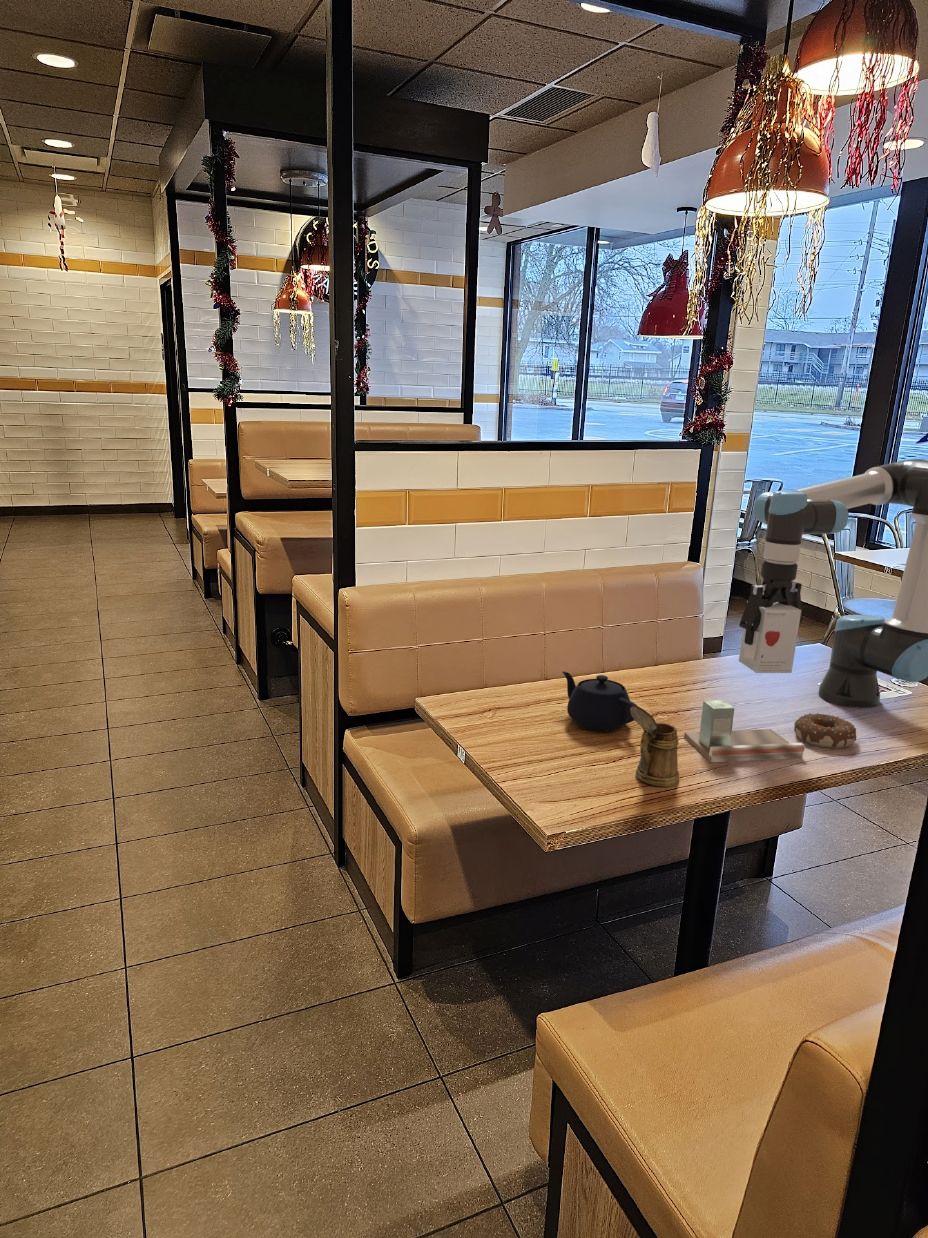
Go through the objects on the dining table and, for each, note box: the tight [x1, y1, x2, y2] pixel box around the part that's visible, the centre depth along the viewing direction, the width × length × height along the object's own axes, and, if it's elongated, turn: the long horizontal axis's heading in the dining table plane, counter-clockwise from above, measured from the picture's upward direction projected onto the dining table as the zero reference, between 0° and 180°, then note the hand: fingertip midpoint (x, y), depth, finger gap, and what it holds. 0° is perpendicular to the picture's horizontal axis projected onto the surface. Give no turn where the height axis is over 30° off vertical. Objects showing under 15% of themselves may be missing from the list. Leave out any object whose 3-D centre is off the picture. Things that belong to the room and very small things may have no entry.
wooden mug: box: [630, 705, 680, 788], centre depth 171 cm, size 9×14×18 cm, turn 128°
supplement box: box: [738, 600, 801, 674], centre depth 191 cm, size 9×9×15 cm
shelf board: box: [683, 728, 806, 763], centre depth 191 cm, size 22×14×3 cm, turn 100°
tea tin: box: [699, 699, 735, 751], centre depth 188 cm, size 5×5×10 cm
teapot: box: [562, 671, 638, 733], centre depth 202 cm, size 25×16×12 cm, turn 37°
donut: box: [793, 712, 857, 749], centre depth 198 cm, size 14×14×5 cm
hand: (766, 655), depth 192 cm, fingers closed on supplement box, 11 cm apart
